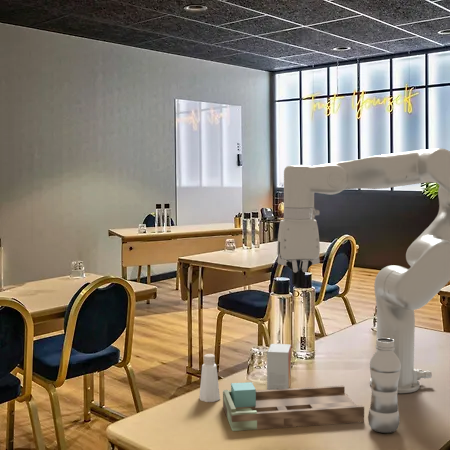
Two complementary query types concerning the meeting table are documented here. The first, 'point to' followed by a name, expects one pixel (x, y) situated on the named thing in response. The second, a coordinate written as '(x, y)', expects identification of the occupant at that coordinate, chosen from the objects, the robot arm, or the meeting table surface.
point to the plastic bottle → (384, 387)
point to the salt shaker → (209, 380)
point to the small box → (279, 366)
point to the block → (243, 394)
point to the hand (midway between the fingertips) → (298, 287)
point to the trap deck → (294, 408)
